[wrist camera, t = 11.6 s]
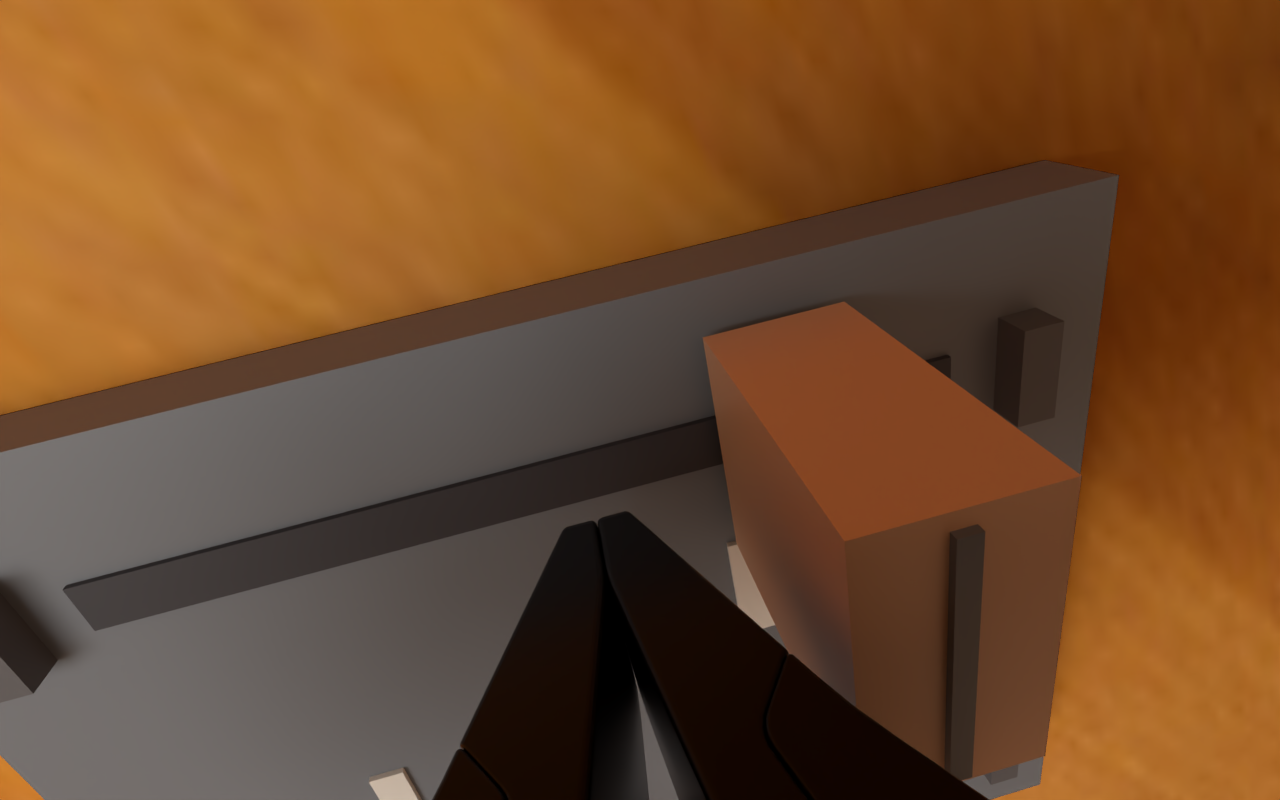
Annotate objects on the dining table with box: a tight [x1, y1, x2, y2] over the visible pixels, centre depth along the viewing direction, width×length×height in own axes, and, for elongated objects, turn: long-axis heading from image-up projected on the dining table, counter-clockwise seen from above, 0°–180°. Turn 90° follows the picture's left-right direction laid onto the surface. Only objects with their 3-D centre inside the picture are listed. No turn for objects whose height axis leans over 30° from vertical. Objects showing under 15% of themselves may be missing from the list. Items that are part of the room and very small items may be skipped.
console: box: [0, 160, 1119, 800], centre depth 13 cm, size 14×18×2 cm
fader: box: [703, 302, 1082, 781], centre depth 8 cm, size 4×2×4 cm, turn 11°
